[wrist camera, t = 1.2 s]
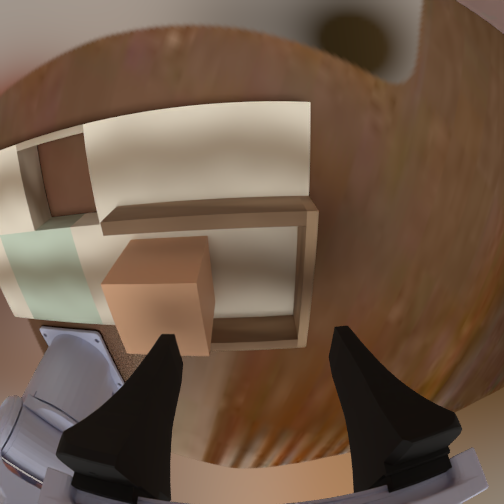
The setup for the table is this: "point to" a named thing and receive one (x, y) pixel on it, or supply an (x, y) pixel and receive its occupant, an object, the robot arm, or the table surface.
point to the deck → (154, 191)
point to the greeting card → (488, 11)
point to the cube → (163, 294)
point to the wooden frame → (232, 217)
